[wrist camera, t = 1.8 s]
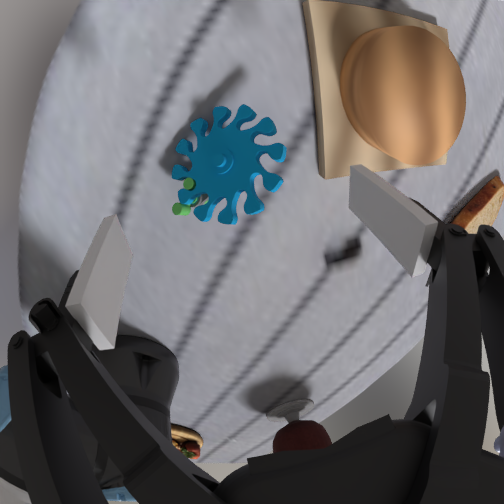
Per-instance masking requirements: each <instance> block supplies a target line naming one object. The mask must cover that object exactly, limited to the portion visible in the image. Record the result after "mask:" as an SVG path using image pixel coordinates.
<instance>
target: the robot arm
mask: <svg viewBox="0 0 504 504" xmlns="http://www.w3.org/2000/svg"><path fill="white" fill-rule="evenodd" d="M349 209H350V210H351V211H352V212H353V213H354V214H355V215H356V216H357V217H358V218H359V219H360V220H361V221H362V222H363V223H364V224H365V225H366V226H367V227H368V228H369V229H370V230H371V232H372V233H373V234H374V235H375V236H376V237H377V238H378V239H379V240H380V241H381V242H382V244H383V245H384V246H385V247H386V248H387V249H388V250H389V251H390V252H391V254H392V255H393V256H394V257H395V258H396V259H397V261H398V262H399V263H400V264H401V265H402V266H403V268H404V269H405V270H406V271H407V272H408V273H409V275H410V276H411V277H415V276H418V275H421V274H423V273H424V272H425V268H426V265H427V263H428V264H429V265H430V266H431V267H432V269H431V272H430V275H429V278H428V281H427V283H426V286H427V287H428V285H429V298H428V310H427V320H426V329H425V336H424V344H423V350H422V356H421V362H420V367H419V373H418V377H417V382H416V387H415V391H414V395H413V399H412V402H411V405H410V407H409V409H408V411H407V413H406V415H405V417H404V420H403V419H399V420H391V418H390V416H389V414H388V415H386V416H384V417H382V418H379V419H377V420H375V421H372V422H370V423H367V424H365V425H362V426H360V427H357V428H356V429H355V430H353V431H352V432H350V433H349V434H347V435H346V436H344V437H343V438H341V439H339V440H338V441H336V442H335V443H333V444H331V445H330V446H328V447H326V448H323V449H313V450H290V451H280V452H276V453H272V454H267V455H262V456H257V457H252V458H247V461H248V464H247V465H245V466H242V467H241V468H239V469H237V470H235V471H234V472H232V473H231V474H230V475H228V476H227V477H226V478H225V479H224V480H223V481H222V482H221V483H219V482H218V481H217V480H215V479H214V478H213V477H211V476H210V475H209V474H208V473H206V472H205V471H203V470H202V469H201V468H199V467H197V466H196V465H195V464H194V463H193V462H191V461H190V460H189V459H188V458H187V457H186V456H185V455H184V454H182V453H181V452H180V451H179V450H178V449H177V448H176V447H175V446H174V445H173V443H172V433H171V423H170V406H171V402H172V399H173V396H174V393H175V390H176V387H177V384H178V381H179V365H178V361H177V359H176V357H175V356H174V355H173V354H172V353H171V352H170V351H169V350H168V349H166V348H165V347H163V346H161V345H159V344H157V343H155V342H153V341H150V340H147V339H143V338H139V337H134V336H116V335H117V329H118V323H119V318H120V312H121V307H122V302H123V297H124V292H125V288H126V283H127V279H128V274H129V270H130V266H131V262H132V258H133V253H132V251H131V248H130V246H129V244H128V242H127V239H126V237H125V235H124V232H123V230H122V227H121V225H120V223H119V220H118V218H117V215H116V214H115V215H112V216H109V217H105V218H104V219H103V221H102V223H101V225H100V227H99V229H98V231H97V233H96V235H95V237H94V239H93V241H92V243H91V245H90V248H89V250H88V252H87V254H86V256H85V258H84V261H83V263H82V265H81V268H80V270H78V271H76V272H75V273H74V274H73V275H72V277H71V278H70V280H69V282H68V285H67V288H66V289H65V292H64V294H63V297H62V299H61V302H60V304H59V307H57V306H56V305H55V303H54V302H53V300H51V299H50V298H45V299H42V300H40V301H39V302H37V303H36V304H35V305H34V306H33V308H32V309H31V311H30V314H29V321H30V322H31V323H32V324H33V326H34V327H35V328H36V329H37V330H38V332H39V333H38V334H36V335H34V336H32V337H30V336H29V335H28V333H27V332H26V331H22V330H21V331H19V332H17V333H16V334H14V335H13V337H12V338H11V340H10V342H9V345H8V365H7V366H3V367H1V368H0V504H108V502H107V500H109V501H137V502H138V503H139V504H504V240H503V238H502V237H501V235H500V234H499V232H498V231H497V230H496V229H494V228H493V227H492V226H490V225H485V224H484V225H480V226H479V227H478V231H477V234H468V232H467V231H466V230H465V229H464V228H463V227H461V226H459V225H456V224H451V223H450V224H445V223H443V222H442V221H441V220H440V219H439V218H437V217H436V216H435V215H434V214H433V213H431V212H430V211H429V210H428V209H426V208H424V206H423V205H421V204H420V203H419V202H417V201H415V200H413V199H411V198H408V197H407V196H405V195H404V194H403V193H401V192H400V191H399V190H397V189H396V188H395V187H393V186H392V185H391V184H389V183H388V182H386V181H385V180H384V179H382V178H381V177H379V176H378V175H377V174H375V173H374V172H372V171H371V170H369V169H368V168H366V167H365V166H363V165H362V164H359V165H351V166H350V191H349ZM489 267H490V272H489V275H488V273H487V271H488V268H489ZM481 332H482V336H483V340H484V344H485V349H486V353H487V358H488V363H489V369H490V374H491V380H492V387H493V394H494V403H495V410H496V416H497V421H498V425H499V429H500V432H501V433H500V436H499V437H497V439H496V440H495V442H494V449H495V450H496V451H497V452H500V453H499V456H498V455H496V454H493V453H491V452H488V451H486V450H483V449H482V445H483V440H484V433H485V428H486V420H487V413H488V403H489V390H490V376H489V374H488V372H484V371H482V368H481V358H482V342H481V341H482V338H481ZM66 390H67V392H68V394H69V395H68V394H67V392H66Z"/></svg>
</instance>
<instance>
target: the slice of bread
mask: <svg viewBox="0 0 504 504" xmlns="http://www.w3.org/2000/svg"><path fill="white" fill-rule="evenodd" d="M503 197H504V184H503V182H502V181H501V179H500V178H499V177H498V176H495V177H494V178H493V179H492V180H490V181H489V182H488V183H487V184H486V185H485V186H484V187H483V188H482V189H481V190H480V191H479V192H478V193H477V194H476V195H475V196H474V197H473V198H472V199H471V200H470V201H469V202H468V203H467V205H466V206H465V207H464V208H463V209H462V210H461V211H460V213H459V214H458V215H457V216H455V218H454V220H453V221H452V223H451V224H456V225H459V226H461V227H463V228H464V229H465V230H466V231H467V232H468V234H477V231H478V227H479V226H480V225H484V224H485V225H490V226H492V224H493V223H494V221H495V219H496V217H497V214H498V212H499V209H500V207H501V204H502V201H503Z"/></svg>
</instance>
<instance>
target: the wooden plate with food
mask: <svg viewBox="0 0 504 504" xmlns="http://www.w3.org/2000/svg"><path fill="white" fill-rule="evenodd" d="M171 433H172V443H173V445H174V446H175V447H176V448H177V449H178V450H179V451H180V452H181V453H182V454H184V455H185V456H186V457H187V458H190V459H197V458H198V457H199V456H200V448H201V447H202V445H203V439H202V437H201V436H200V435H199V434H198V433H196V432H194V431H192V430H190V429H187V428H184V427H181V426H177V425H172V424H171Z"/></svg>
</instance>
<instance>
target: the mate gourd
mask: <svg viewBox="0 0 504 504" xmlns="http://www.w3.org/2000/svg"><path fill="white" fill-rule="evenodd" d="M313 407H314V403H313V401H312V400H307V399H303V400H296V401H291V402H288V403H285V404H282V405H279V406H277V407H275V408H273V409H272V410H270V411H269V412H268V414H267V419H268V420H269V421H273V422H281V421H288V423H289V424H287V425H286V426H285V427H283V428H282V429H280V430H279V431H278V432H277V433H276V436H275V438H274V440H273V453H276V452H280V451H290V450H313V449H323V448H326V447H328V446H330V445H331V444H332V442H331V439H330V437H329V435H328V433H327V432H326V430H325V429H324V427H323V426H322V425H320V424H318V423H317V422H315V421H312V420H299V417H300V416H302V415H304V414H306V413H308V412H309V411H310V410H312V409H313Z"/></svg>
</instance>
